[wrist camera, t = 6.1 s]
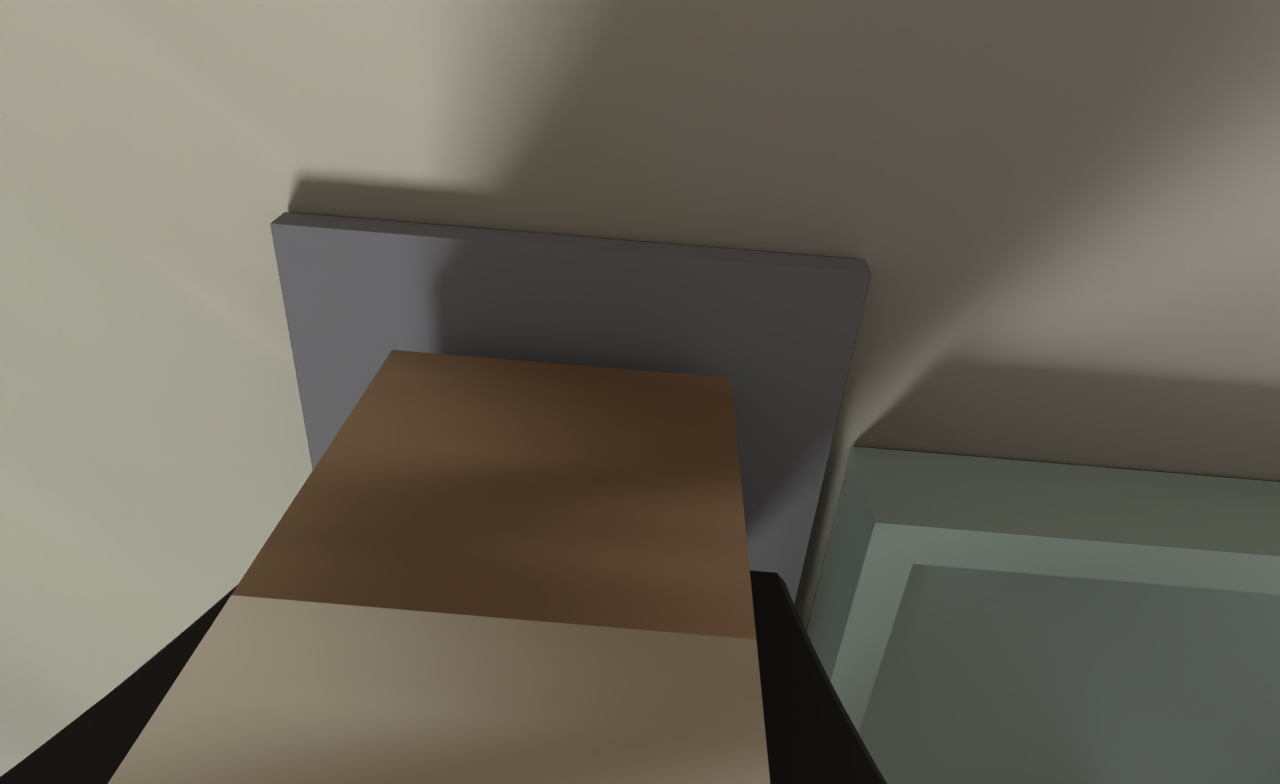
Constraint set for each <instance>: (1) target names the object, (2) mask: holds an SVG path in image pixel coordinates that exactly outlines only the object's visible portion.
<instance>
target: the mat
mask: <svg viewBox="0 0 1280 784" xmlns="http://www.w3.org/2000/svg"><path fill="white" fill-rule="evenodd" d="M271 230H272V236H273V242H274V248H275V253H276V259H277V265H278V271H279V277H280V283H281V288H282V294H283V300H284V306H285V312H286V317H287V323H288V329H289V335H290V341H291V347H292V352H293V358H294V364H295V370H296V376H297V382H298V387H299V393H300V399H301V405H302V411H303V416H304V422H305V428H306V434H307V440H308V446H309V451H310V457H311V463H312V469H313V470H314V468H315V467H316V465H317V464H318V462H319V460H320V459H321V457H322V456H323V454H324V453H325V451H326V450H327V448H328V447H329V445H330V444H331V442H332V441H333V439H334V438H335V436H336V435H337V433H338V431H339V430H340V428H341V427H342V425H343V424H344V422H345V421H346V419H347V418H348V416H349V415H350V413H351V412H352V410H353V409H354V407H355V405H356V404H357V402H358V401H359V399H360V398H361V396H362V395H363V393H364V392H365V390H366V389H367V387H368V386H369V384H370V383H371V381H372V380H373V378H374V376H375V375H376V373H377V372H378V370H379V369H380V367H381V366H382V364H383V363H384V361H385V360H386V358H387V357H388V355H389V354H390V352H391V351H392V350H401V351H413V352H425V353H437V354H449V355H461V356H473V357H485V358H497V359H509V360H522V361H534V362H546V363H558V364H570V365H582V366H594V367H606V368H618V369H630V370H642V371H654V372H666V373H678V374H691V375H703V376H715V377H727V378H731V381H732V392H733V402H734V412H735V423H736V433H737V443H738V454H739V464H740V475H741V485H742V495H743V506H744V516H745V526H746V537H747V547H748V558H749V568H750V570H752V571H763V572H775V573H778V574H779V576H780V577H781V578H782V579H783V580H784V581H785V583H786V586H787V588H788V591H789V593H790V596H791V598H792V600H793V603H794V604H795V600H796V595H797V591H798V587H799V582H800V578H801V574H802V569H803V565H804V561H805V556H806V552H807V547H808V543H809V539H810V534H811V530H812V526H813V521H814V517H815V513H816V508H817V504H818V500H819V495H820V491H821V487H822V482H823V478H824V474H825V469H826V465H827V461H828V456H829V452H830V448H831V443H832V439H833V435H834V430H835V426H836V422H837V417H838V413H839V409H840V404H841V400H842V396H843V391H844V387H845V383H846V378H847V374H848V370H849V365H850V361H851V357H852V352H853V348H854V344H855V339H856V335H857V331H858V326H859V322H860V317H861V313H862V309H863V304H864V300H865V296H866V291H867V287H868V283H869V278H870V274H871V273H870V270H869V268H868V266H867V264H866V262H865V260H859V259H847V258H835V257H823V256H811V255H799V254H786V253H774V252H762V251H750V250H738V249H726V248H713V247H701V246H689V245H677V244H665V243H653V242H640V241H628V240H616V239H604V238H592V237H580V236H567V235H555V234H543V233H531V232H519V231H507V230H494V229H482V228H470V227H458V226H446V225H434V224H421V223H409V222H397V221H385V220H373V219H361V218H348V217H336V216H324V215H312V214H300V213H288V212H284V213H283V214H282V215H281V216H279V217H278V218H277V219H276V220H274V221H273V222H272V223H271Z"/></svg>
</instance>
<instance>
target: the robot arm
mask: <svg viewBox="0 0 1280 784" xmlns="http://www.w3.org/2000/svg"><path fill="white" fill-rule="evenodd" d="M750 578H751V589H752V599H753V609H754V620H755V630H756V641H757V651H758V661H759V672H760V682H761V693H762V703H763V713H764V724H765V734H766V744H767V755H768V765H769V776H770V784H887V782H886V781H885V779H884V777H883V776H882V774H881V772H880V771H879V769H878V767H877V766H876V764H875V762H874V760H873V758H872V757H871V755H870V753H869V751H868V749H867V748H866V746H865V744H864V742H863V740H862V739H861V737H860V735H859V733H858V731H857V730H856V728H855V726H854V724H853V722H852V721H851V719H850V717H849V715H848V713H847V712H846V710H845V708H844V706H843V704H842V702H841V701H840V699H839V697H838V695H837V693H836V691H835V689H834V687H833V685H832V683H831V681H830V679H829V677H828V675H827V673H826V671H825V669H824V667H823V665H822V663H821V661H820V659H819V657H818V655H817V653H816V651H815V649H814V647H813V645H812V643H811V641H810V639H809V636H808V634H807V632H806V630H805V628H804V626H803V623H802V621H801V619H800V617H799V614H798V612H797V610H796V607H795V605H794V603H793V600H792V598H791V596H790V593H789V591H788V588H787V586H786V583H785V581H784V580H783V579H782V578H781V577H780V576H779V574H778V573H775V572H763V571H752V570H750ZM237 586H238V585H237ZM237 586H236V587H237ZM236 587H234V588H233V589H232V590H231V591H230V592H229V593H228V594H226V595H225V596H224V597H223V598H222V599H221V600H220V601H218V602H217V603H216V604H215V605H214V606H213V607H211V608H210V609H209V610H208V611H207V612H206V613H204V614H203V615H202V616H201V617H200V618H199V619H198V620H196V621H195V622H194V623H193V624H192V625H191V626H189V627H188V628H187V629H186V630H185V631H183V632H182V633H181V634H180V635H179V636H178V637H176V638H175V639H174V640H173V641H172V642H170V643H169V644H168V645H167V646H166V647H164V648H163V649H162V650H161V651H160V652H158V653H157V654H156V655H155V656H154V657H152V658H151V659H150V660H149V661H148V662H146V663H145V664H144V665H143V666H142V667H140V668H139V669H138V670H137V671H136V672H134V673H133V674H132V675H131V676H130V677H128V678H127V679H126V680H125V681H124V682H122V683H121V684H120V685H119V686H117V687H116V688H115V689H114V690H112V691H111V692H110V693H109V694H108V695H106V696H105V697H104V698H103V699H101V700H100V701H99V702H97V703H96V704H95V705H93V706H92V707H91V708H90V709H88V710H87V711H86V712H84V713H83V714H82V715H81V716H79V717H78V718H77V719H75V720H74V721H73V722H72V723H70V724H69V725H68V726H66V727H65V728H64V729H63V730H61V731H60V732H59V733H57V734H56V735H55V736H53V737H52V738H51V739H50V740H48V741H47V742H46V743H44V744H43V745H42V746H41V747H39V748H38V749H37V750H35V751H34V752H33V753H32V754H30V755H29V756H28V757H26V758H25V759H24V760H22V761H21V762H20V763H18V764H17V765H16V766H14V767H13V768H12V769H10V770H9V771H8V772H6V773H5V774H4V775H2V776H1V777H0V784H108V783H109V781H110V780H111V778H112V777H113V775H114V774H115V772H116V770H117V769H118V767H119V766H120V764H121V763H122V761H123V760H124V758H125V757H126V755H127V754H128V752H129V751H130V749H131V748H132V746H133V744H134V743H135V741H136V740H137V738H138V737H139V735H140V734H141V732H142V731H143V729H144V728H145V726H146V725H147V723H148V722H149V720H150V719H151V717H152V715H153V714H154V712H155V711H156V709H157V708H158V706H159V705H160V703H161V702H162V700H163V699H164V697H165V696H166V694H167V693H168V691H169V690H170V688H171V686H172V685H173V683H174V682H175V680H176V679H177V677H178V676H179V674H180V673H181V671H182V670H183V668H184V667H185V665H186V664H187V662H188V661H189V659H190V657H191V656H192V654H193V653H194V651H195V650H196V648H197V647H198V645H199V644H200V642H201V641H202V639H203V638H204V636H205V635H206V633H207V631H208V630H209V628H210V627H211V625H212V624H213V622H214V621H215V619H216V618H217V616H218V615H219V613H220V612H221V610H222V609H223V607H224V606H225V604H226V602H227V601H228V599H229V598H230V596H231V595H232V593H233V592H234V590H235V589H236Z"/></svg>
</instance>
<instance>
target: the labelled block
mask: <svg viewBox="0 0 1280 784" xmlns="http://www.w3.org/2000/svg"><path fill="white" fill-rule="evenodd" d="M108 784H770V776H769V765H768V755H767V744H766V734H765V724H764V713H763V703H762V693H761V682H760V672H759V661H758V651H757V641H756V630H755V620H754V609H753V599H752V589H751V578H750V568H749V558H748V547H747V537H746V526H745V516H744V506H743V495H742V485H741V475H740V464H739V454H738V443H737V433H736V423H735V412H734V402H733V392H732V381H731V378H727V377H715V376H703V375H691V374H678V373H666V372H654V371H642V370H630V369H618V368H606V367H594V366H582V365H570V364H558V363H546V362H534V361H522V360H509V359H497V358H485V357H473V356H461V355H449V354H437V353H425V352H413V351H401V350H392V351H391V352H390V354H389V355H388V357H387V358H386V360H385V361H384V363H383V364H382V366H381V367H380V369H379V370H378V372H377V373H376V375H375V376H374V378H373V380H372V381H371V383H370V384H369V386H368V387H367V389H366V390H365V392H364V393H363V395H362V396H361V398H360V399H359V401H358V402H357V404H356V405H355V407H354V409H353V410H352V412H351V413H350V415H349V416H348V418H347V419H346V421H345V422H344V424H343V425H342V427H341V428H340V430H339V431H338V433H337V435H336V436H335V438H334V439H333V441H332V442H331V444H330V445H329V447H328V448H327V450H326V451H325V453H324V454H323V456H322V457H321V459H320V460H319V462H318V464H317V465H316V467H315V468H314V470H313V471H312V473H311V474H310V476H309V477H308V479H307V480H306V482H305V483H304V485H303V486H302V488H301V489H300V491H299V493H298V494H297V496H296V497H295V499H294V500H293V502H292V503H291V505H290V506H289V508H288V509H287V511H286V512H285V514H284V515H283V517H282V518H281V520H280V522H279V523H278V525H277V526H276V528H275V529H274V531H273V532H272V534H271V535H270V537H269V538H268V540H267V541H266V543H265V544H264V546H263V548H262V549H261V551H260V552H259V554H258V555H257V557H256V558H255V560H254V561H253V563H252V564H251V566H250V567H249V569H248V570H247V572H246V573H245V575H244V577H243V578H242V580H241V581H240V583H239V584H238V586H237V587H236V589H235V590H234V592H233V593H232V595H231V596H230V598H229V599H228V601H227V602H226V604H225V606H224V607H223V609H222V610H221V612H220V613H219V615H218V616H217V618H216V619H215V621H214V622H213V624H212V625H211V627H210V628H209V630H208V631H207V633H206V635H205V636H204V638H203V639H202V641H201V642H200V644H199V645H198V647H197V648H196V650H195V651H194V653H193V654H192V656H191V657H190V659H189V661H188V662H187V664H186V665H185V667H184V668H183V670H182V671H181V673H180V674H179V676H178V677H177V679H176V680H175V682H174V683H173V685H172V686H171V688H170V690H169V691H168V693H167V694H166V696H165V697H164V699H163V700H162V702H161V703H160V705H159V706H158V708H157V709H156V711H155V712H154V714H153V715H152V717H151V719H150V720H149V722H148V723H147V725H146V726H145V728H144V729H143V731H142V732H141V734H140V735H139V737H138V738H137V740H136V741H135V743H134V744H133V746H132V748H131V749H130V751H129V752H128V754H127V755H126V757H125V758H124V760H123V761H122V763H121V764H120V766H119V767H118V769H117V770H116V772H115V774H114V775H113V777H112V778H111V780H110V781H109V783H108Z"/></svg>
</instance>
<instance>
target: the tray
mask: <svg viewBox="0 0 1280 784" xmlns="http://www.w3.org/2000/svg"><path fill="white" fill-rule="evenodd" d="M807 634H808V636H809V639H810V641H811V643H812V645H813V647H814V649H815V651H816V653H817V655H818V657H819V659H820V661H821V663H822V665H823V667H824V669H825V671H826V673H827V675H828V677H829V679H830V681H831V683H832V685H833V687H834V689H835V691H836V693H837V695H838V697H839V699H840V701H841V702H842V704H843V706H844V708H845V710H846V712H847V713H848V715H849V717H850V719H851V721H852V722H853V724H854V726H855V728H856V730H857V731H858V733H859V735H860V737H861V739H862V740H863V742H864V744H865V746H866V748H867V749H868V751H869V753H870V755H871V757H872V758H873V760H874V762H875V764H876V766H877V767H878V769H879V771H880V772H881V774H882V776H883V777H884V779H885V781H886V782H887V784H1280V482H1273V481H1261V480H1249V479H1237V478H1225V477H1213V476H1201V475H1189V474H1177V473H1165V472H1153V471H1141V470H1129V469H1117V468H1105V467H1093V466H1081V465H1069V464H1057V463H1045V462H1033V461H1021V460H1009V459H997V458H985V457H973V456H961V455H949V454H937V453H925V452H913V451H901V450H889V449H877V448H865V447H853V446H852V449H851V453H850V457H849V461H848V466H847V470H846V474H845V478H844V482H843V486H842V490H841V494H840V498H839V502H838V506H837V510H836V514H835V518H834V522H833V526H832V530H831V534H830V538H829V542H828V547H827V551H826V555H825V559H824V563H823V567H822V571H821V575H820V579H819V583H818V587H817V591H816V595H815V599H814V603H813V607H812V611H811V615H810V619H809V623H808V628H807Z"/></svg>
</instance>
